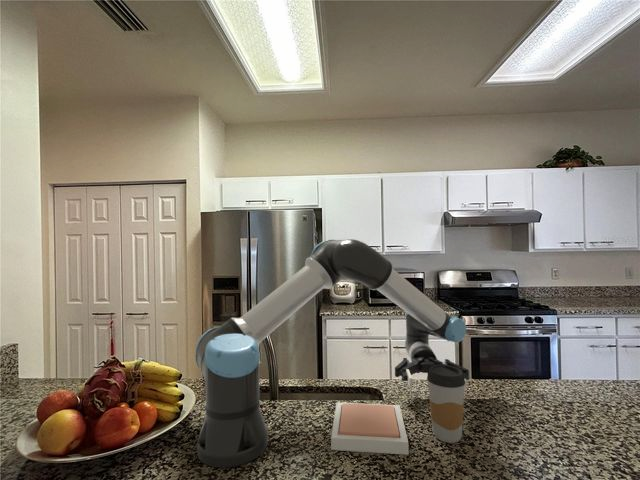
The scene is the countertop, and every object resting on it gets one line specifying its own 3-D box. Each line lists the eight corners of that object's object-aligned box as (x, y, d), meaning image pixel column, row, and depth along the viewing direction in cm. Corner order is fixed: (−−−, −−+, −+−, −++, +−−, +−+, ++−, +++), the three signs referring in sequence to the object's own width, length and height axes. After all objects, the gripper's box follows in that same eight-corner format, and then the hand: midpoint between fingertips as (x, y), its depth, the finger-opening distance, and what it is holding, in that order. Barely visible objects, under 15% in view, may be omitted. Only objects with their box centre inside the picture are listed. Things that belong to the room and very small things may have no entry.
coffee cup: (459, 426, 81) (458, 364, 81) (472, 447, 72) (470, 377, 73) (424, 425, 82) (423, 363, 82) (432, 445, 73) (431, 376, 74)
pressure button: (339, 435, 74) (339, 431, 74) (342, 407, 87) (342, 403, 87) (399, 439, 72) (399, 434, 72) (393, 409, 85) (393, 405, 85)
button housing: (331, 449, 72) (331, 437, 72) (336, 412, 88) (336, 402, 88) (408, 454, 70) (408, 442, 70) (399, 415, 86) (399, 405, 86)
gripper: (463, 370, 106) (488, 401, 85) (383, 367, 109) (389, 397, 88) (462, 346, 106) (488, 371, 85) (383, 344, 109) (388, 368, 88)
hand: (437, 384), depth 86 cm, fingers open, 13 cm apart
